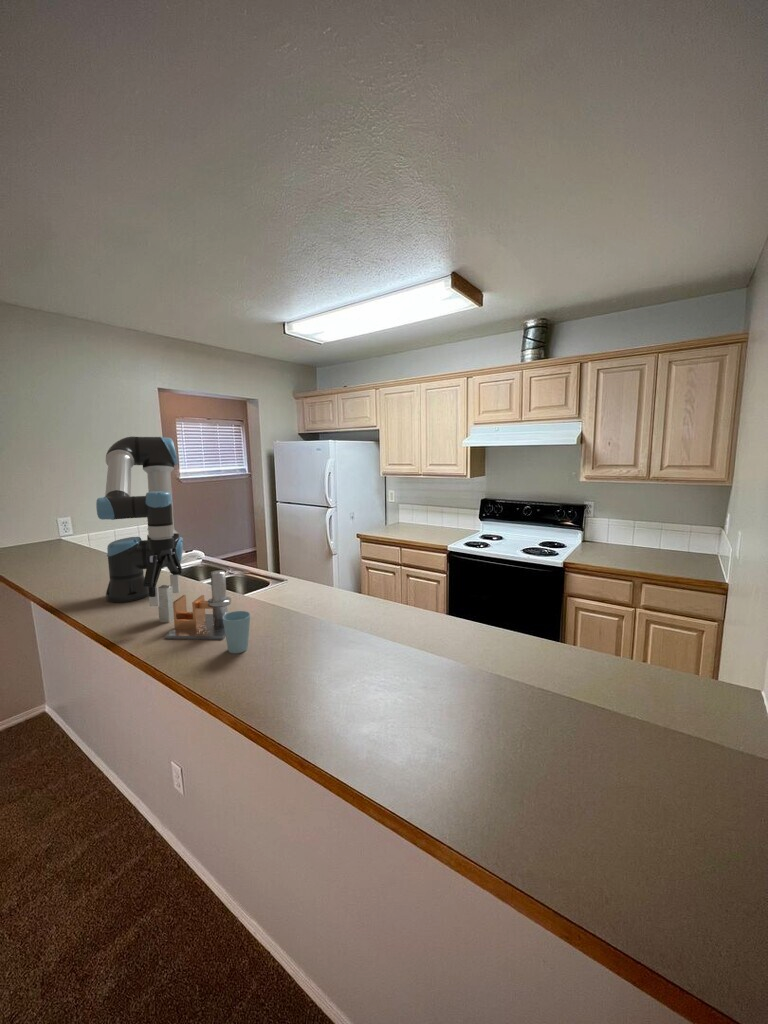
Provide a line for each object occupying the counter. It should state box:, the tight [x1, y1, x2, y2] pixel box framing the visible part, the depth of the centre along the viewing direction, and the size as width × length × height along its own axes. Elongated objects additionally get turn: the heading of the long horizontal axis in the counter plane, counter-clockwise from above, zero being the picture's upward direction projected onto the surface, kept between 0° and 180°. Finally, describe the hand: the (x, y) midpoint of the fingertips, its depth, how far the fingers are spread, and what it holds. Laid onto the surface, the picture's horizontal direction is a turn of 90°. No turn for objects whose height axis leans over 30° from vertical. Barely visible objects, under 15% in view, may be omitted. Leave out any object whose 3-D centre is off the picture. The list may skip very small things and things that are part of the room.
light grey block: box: [157, 584, 174, 623], centre depth 146 cm, size 3×3×12 cm
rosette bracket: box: [164, 569, 232, 640], centre depth 140 cm, size 18×18×19 cm
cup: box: [222, 610, 251, 654], centre depth 125 cm, size 8×8×10 cm
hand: (165, 599), depth 145 cm, fingers open, 13 cm apart
